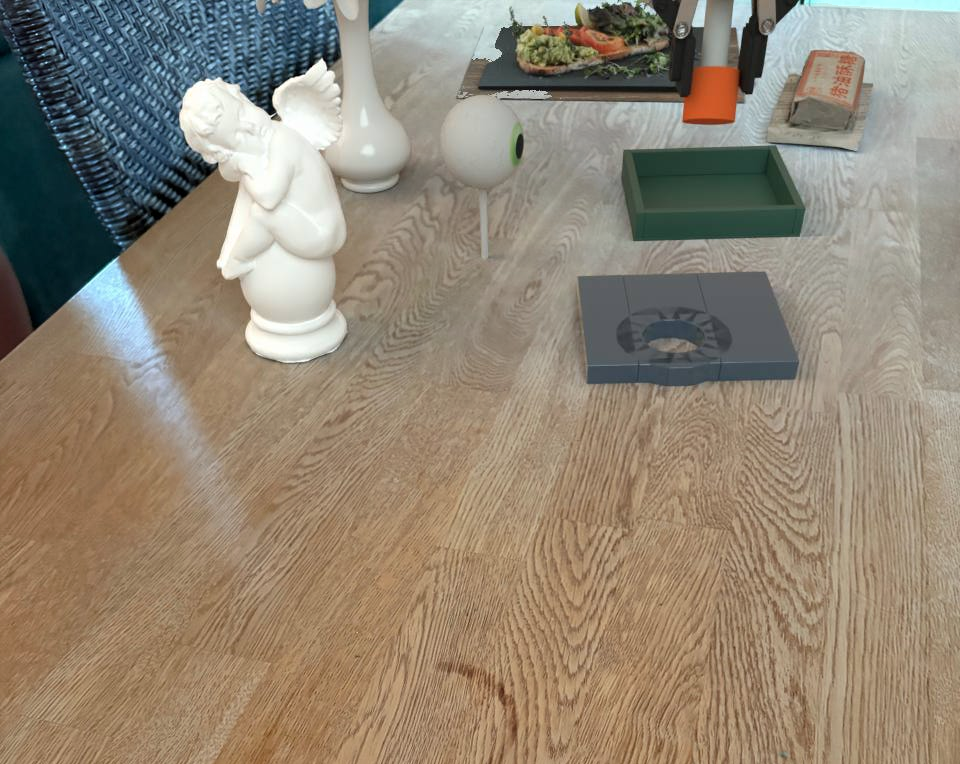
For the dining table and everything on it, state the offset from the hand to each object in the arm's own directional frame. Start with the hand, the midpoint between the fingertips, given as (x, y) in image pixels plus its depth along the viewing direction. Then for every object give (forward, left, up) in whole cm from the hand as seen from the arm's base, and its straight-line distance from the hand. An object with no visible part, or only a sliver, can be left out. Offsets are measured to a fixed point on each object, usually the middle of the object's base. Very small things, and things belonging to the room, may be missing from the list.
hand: (713, 86), depth 77 cm
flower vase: (+31, -25, -17) cm, 44 cm away
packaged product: (-20, -39, -17) cm, 47 cm away
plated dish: (+3, -60, -17) cm, 63 cm away
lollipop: (+18, -5, -17) cm, 25 cm away
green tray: (-4, -17, -17) cm, 25 cm away
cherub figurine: (+33, +4, -17) cm, 37 cm away
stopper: (0, +1, -2) cm, 2 cm away
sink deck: (+2, +9, -17) cm, 19 cm away
